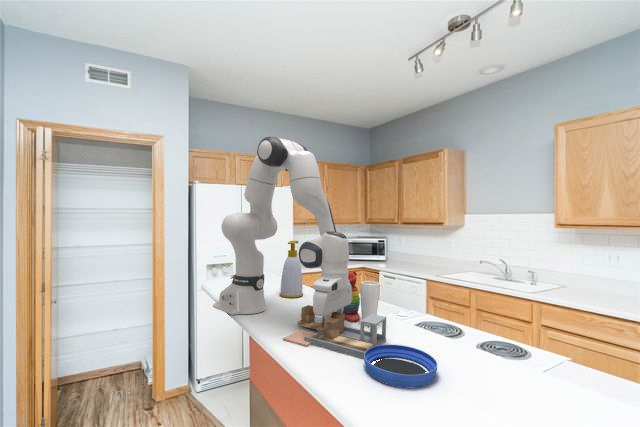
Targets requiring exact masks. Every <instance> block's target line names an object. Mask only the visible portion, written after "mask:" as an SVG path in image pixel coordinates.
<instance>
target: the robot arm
mask: <svg viewBox="0 0 640 427" xmlns="http://www.w3.org/2000/svg"><path fill="white" fill-rule="evenodd" d="M256 151H257V152H256V155H255V157H254V159H253V162H252V164H251V168H250V169H249V173H248V177H247V181H246V186H245V188H244V189H245V190H244V199H245V200H246V201H247V202H248V203H249V208H250V209H249V213H248V212H236V213H232V214H228V215H225V217H224V218H223V220H222V223H221V232H222V234H223V237H224V238H226V239H227V240H228V241H229V243H230V244H231V246H232V248H233V251H234V255H235V256H234V257H235V274H234V275H232V276H231V277H230V279H232V280H231V283H230V284H229V285H228V286H227V287H225V288H224V289H223V290H222V291H221V292H220V294H219V298H218V301H217V302H215V303H213V305H212V308H214V309H216V310H219V311H221V312H223V313H226V314H228V315H232V316H233V315H235V316H236V315H251V314H252V315H253V314H259V313H264V312H265V311H266V310H267V305H266V300H265V291H264V289H265V288H264V284H265V274H264V264H265V263H264V262H265V259H264V258H265V257H264V254H263V252H262V251H260V250H259V249H258V248H257V245H256V241H257V240H258V241H259V240H260V241H261V240H266V239H269V238H272V237H274V236H275V235H276V233H277V231H278V221H277V219H276V218H275V216H274V214H273V208H272V207H273V197H274V193H275V189H276V185H277V179H278V177H279V174H280V173H281V171H286V172H288V175H289V176H288V177H289V186H290V188H289V189H290V192H291V196H292V199H293V200H294V201H295V203H297V205H299V206H300V207H302V208H304V209H306V210H308V211H309V212H310V213H311V214H312V215H313V216H314V218H315V219H316V222H317V227H318V231H319V235H320V236H318V237H316V238H314V239H311V240H307V241H305V242H303V243H301V244H300V247H299V249H298V259H299V262H300V265H302V266H303V267H304V268H305V269H311V270H312V269H321V275H320V276H319V278H317V280H315V281H314V282H313V284H312V290H314V291H313V297H312V306H313V312H314V314H315V316H318V317H321V318H322V317H325V320H327V319H329V318H331V315H332V312H335V311H337V312H338V313H343V309H344V307H345V306H347V305H349V304H351V302H352V287H351V284H350V281H349V279H348V271H349V269H348V265H349V260H350V249H349V248H350V245H349V240H348V239H349V238H348V237H347V235H345V234H343V233H341V232H338V231H337V230H336V225H335V221H334V217H333V213H332V208H331V206H330V203H329V201H328V198H326V195H325V193H324V192H325V191H324V189H323V185H322V181H321V173H320V168H319V165H318V162H317V161H318V160H317V159H316V157H315V156H316V155H314V154H313V152H311V151H308V148H307V147H305V146H304V145H302V144H301V143H297V142H295V141H293V140H290V139H284V138H280V137H276V136H265V137H264V138H263V139H261V140H260V141H259V143H258V145H257V150H256Z"/></svg>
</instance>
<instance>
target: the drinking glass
mask: <svg viewBox="0 0 640 427" xmlns="http://www.w3.org/2000/svg"><path fill="white" fill-rule="evenodd" d="M359 289H360V292H359V297H360V310H361V314H360V315H361V320H363V319H364V318H366V317H368V316H369V315H371V314H374V315H378V307H379V300H380V299H379V298H380V283H379V282H377V281H374V280H364V281H361V282H360V288H359ZM364 326H367V327H370V325H368V324H365V325H364Z"/></svg>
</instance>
